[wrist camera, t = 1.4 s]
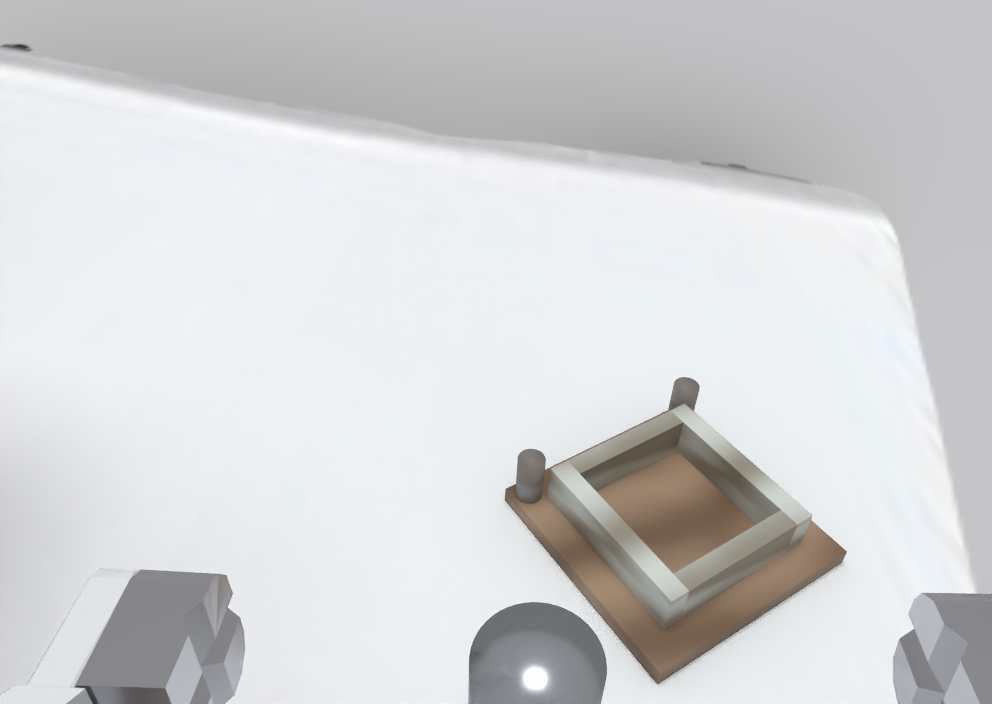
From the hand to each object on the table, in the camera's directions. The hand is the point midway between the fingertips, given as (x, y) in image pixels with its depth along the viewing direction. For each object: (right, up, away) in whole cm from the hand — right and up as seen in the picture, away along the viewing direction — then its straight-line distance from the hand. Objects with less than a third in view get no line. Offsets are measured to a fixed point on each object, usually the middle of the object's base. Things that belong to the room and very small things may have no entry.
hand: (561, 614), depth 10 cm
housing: (+9, -7, +41) cm, 42 cm away
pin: (0, -17, +29) cm, 33 cm away
